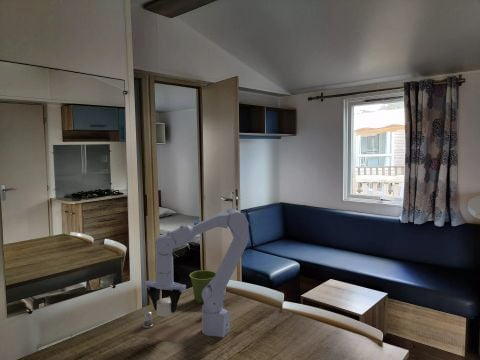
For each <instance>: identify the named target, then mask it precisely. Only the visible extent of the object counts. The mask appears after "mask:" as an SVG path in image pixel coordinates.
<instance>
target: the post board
mask: <svg viewBox="0 0 480 360" xmlns="http://www.w3.org/2000/svg"><path fill="white" fill-rule="evenodd" d="M191 331H192V329H190V328H183V327H179V326H175V325H168V324H164V323H159V322H154V321H153V311H152V310H146V311H144V312H143V321H142V322H140V323H139V324H137V325H136V326H134V327H133V328H132V329H130V330H129V331H127V332H126V334H129V335H134V336H139V337H143V338H147V339H148V338H149V339H153V340H157V341H158V340H159V341H163V342H168V343H172V344H176V345H177V344H178V343H180V342H181V340H183V339H184V338H185V337H186V336H188V334H190V333H191Z"/></svg>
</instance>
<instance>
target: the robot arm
mask: <svg viewBox="0 0 480 360" xmlns="http://www.w3.org/2000/svg"><path fill="white" fill-rule="evenodd" d="M249 225H250V223H249V221H248V219H247V217H246V215H245V214H243V213H242V212H240V211H239V210H238V209H236V208H229V209H227V210H223V211H220V212H219V213H217V214H214V215H213V216H211V217H208V218H207V219H204V220H202V221H201V222H199V223H196V224H194V225H192V226H191V225H189V224H186V225H184V224H181V225H179V228H177V229H173V230H172V231H167V232H166V234H165V233H164V234H160V235H158V236H157V237H156V239H155V241H154V245H155V250H156V251H155V256H156V257H155V280H146V281H144V289H148V290H147V291H146V292H147V295H148V296H149V298H150V300H151V303H152V305H153V308H154V309H153V310H154V311H157V301H158V300H159V299H161V298H160V297H161V291H162V290H164V291H165V290H166V291H171V292H169V298H170V299H171V312H172V313H173V314H175V312H176V311H177V307H178V303H179V300H180V297H181V295H182V293H185V292H186V291H187V285H186V284H182V283H179V282H175V281H174V256H173V251H174V249H178V248H180V247H182V246H184V245H186V244H189V243H191V242H193V241H194V240H195V238H196V236H198V235H200V234H202V233H205V232H208V231H210V230H213V229H215V228H222V229H228V228H229V229H230V232H231V235H232V237H233V239H232V241H231V243H230V245H229V247H228V249H227V251H226V252H225V255H224V257H223V259H222V261H221V263H220V264H219V267H218V269H217V271H216V275H215V277H214V278H213V279H212V280H211V281H210V282H209V284H208V285H207V286H206V287H205V288H204V289H203V291H202V299H203V300H204V303H202V306H201V333H202V334H204V336H208V337H218V338H225V337H226V335H228V333H229V332H230V331H231V312H230V311H229V310H227V309H225V308H224V307H223V306H224V298H225V296H226V290H227V286H228V284H229V281H230V280H231V278H232V275H233V274H234V272H235V269H236V267H237V265H238V263H239V261H240V260H241V257H242V256H243V253H244V251H245V250H246V247H247V245H248V243H249V240H250V236H249V235H250V233H249Z"/></svg>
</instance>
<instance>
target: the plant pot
mask: <svg viewBox="0 0 480 360" xmlns="http://www.w3.org/2000/svg"><path fill="white" fill-rule="evenodd" d="M216 273H217V271H212V270H195V271H193V272H190V274H189V277H190V281H191V284H192V289H193V290H192V291H193V296H194V301H195V302H196V303H198V304H200V303H201V304H204V300H203V299H202V291H203V289H204V288H205V287H206V286H207V285H208V284H209V282H210V281H211V280H212V279H213V278H214V277H215V275H216Z"/></svg>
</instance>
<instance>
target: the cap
mask: <svg viewBox="0 0 480 360" xmlns="http://www.w3.org/2000/svg"><path fill="white" fill-rule="evenodd" d="M173 314H174V313H172V312H171V299H170V297H164V298H160V299H159V300H158V301H157V310H156V316H157V315H158V316H159V317H170V316H172V315H173Z"/></svg>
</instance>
